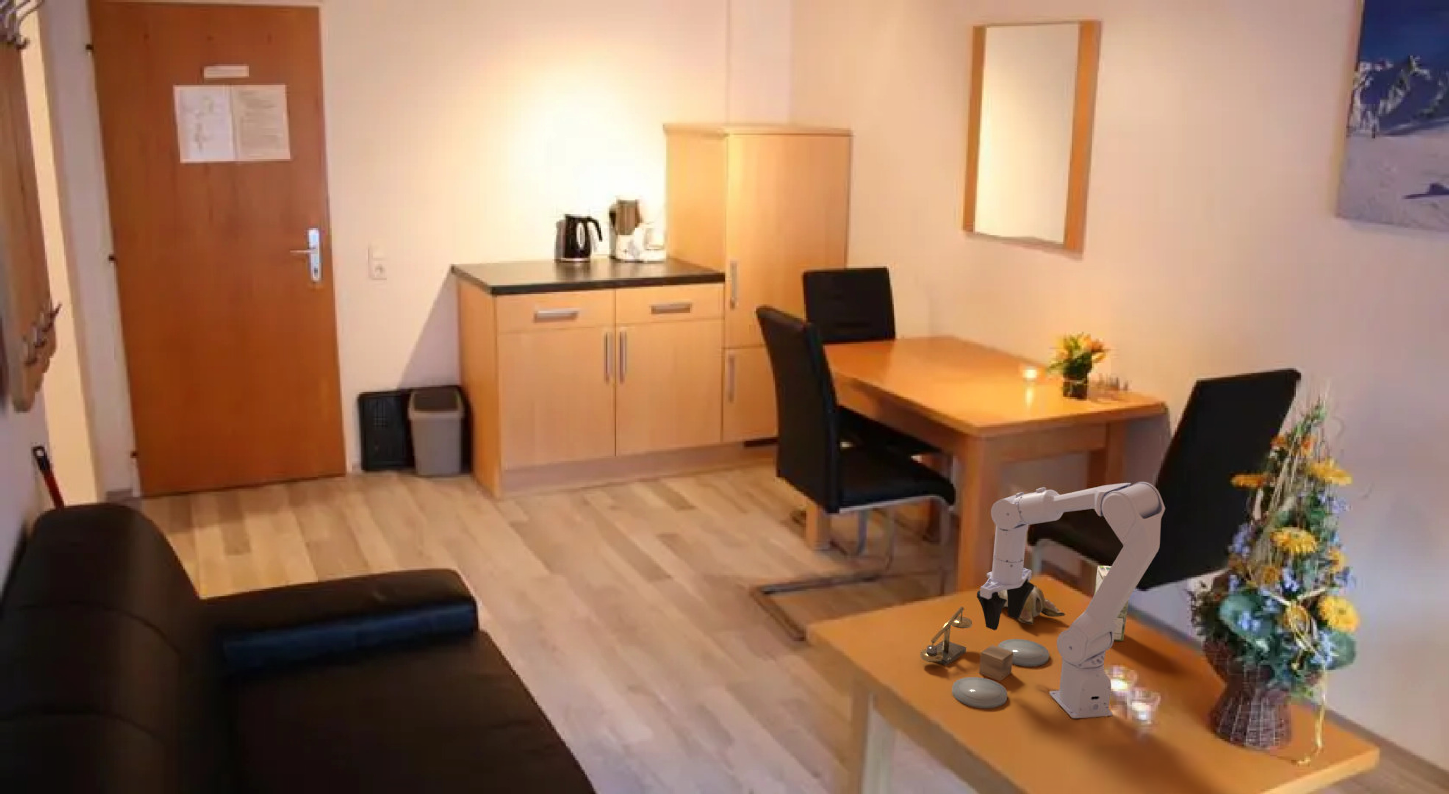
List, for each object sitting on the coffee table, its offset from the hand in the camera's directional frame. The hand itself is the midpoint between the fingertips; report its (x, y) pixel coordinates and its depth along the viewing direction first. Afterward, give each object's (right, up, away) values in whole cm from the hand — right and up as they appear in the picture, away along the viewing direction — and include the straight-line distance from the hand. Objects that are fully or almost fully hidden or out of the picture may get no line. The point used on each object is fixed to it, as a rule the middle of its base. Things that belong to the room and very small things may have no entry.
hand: (1002, 622), depth 230 cm
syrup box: (+26, -6, +18) cm, 32 cm away
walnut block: (-1, -10, 0) cm, 10 cm away
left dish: (-6, -12, -9) cm, 16 cm away
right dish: (+6, -8, +8) cm, 13 cm away
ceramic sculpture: (+11, -4, +27) cm, 29 cm away
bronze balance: (-10, -8, +7) cm, 14 cm away
